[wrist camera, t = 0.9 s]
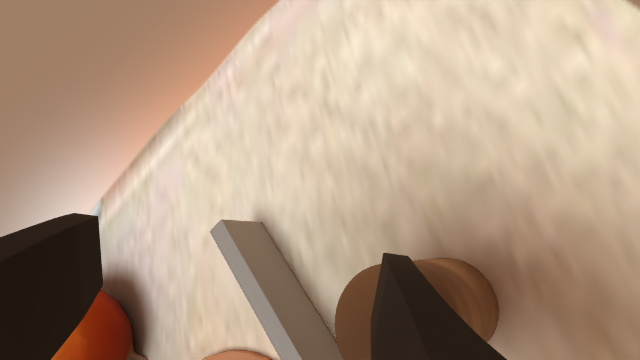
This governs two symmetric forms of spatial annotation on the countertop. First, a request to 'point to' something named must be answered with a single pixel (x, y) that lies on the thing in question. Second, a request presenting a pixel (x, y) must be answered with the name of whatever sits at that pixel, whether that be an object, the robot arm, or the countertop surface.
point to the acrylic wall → (274, 292)
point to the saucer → (237, 356)
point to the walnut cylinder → (447, 279)
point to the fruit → (101, 334)
